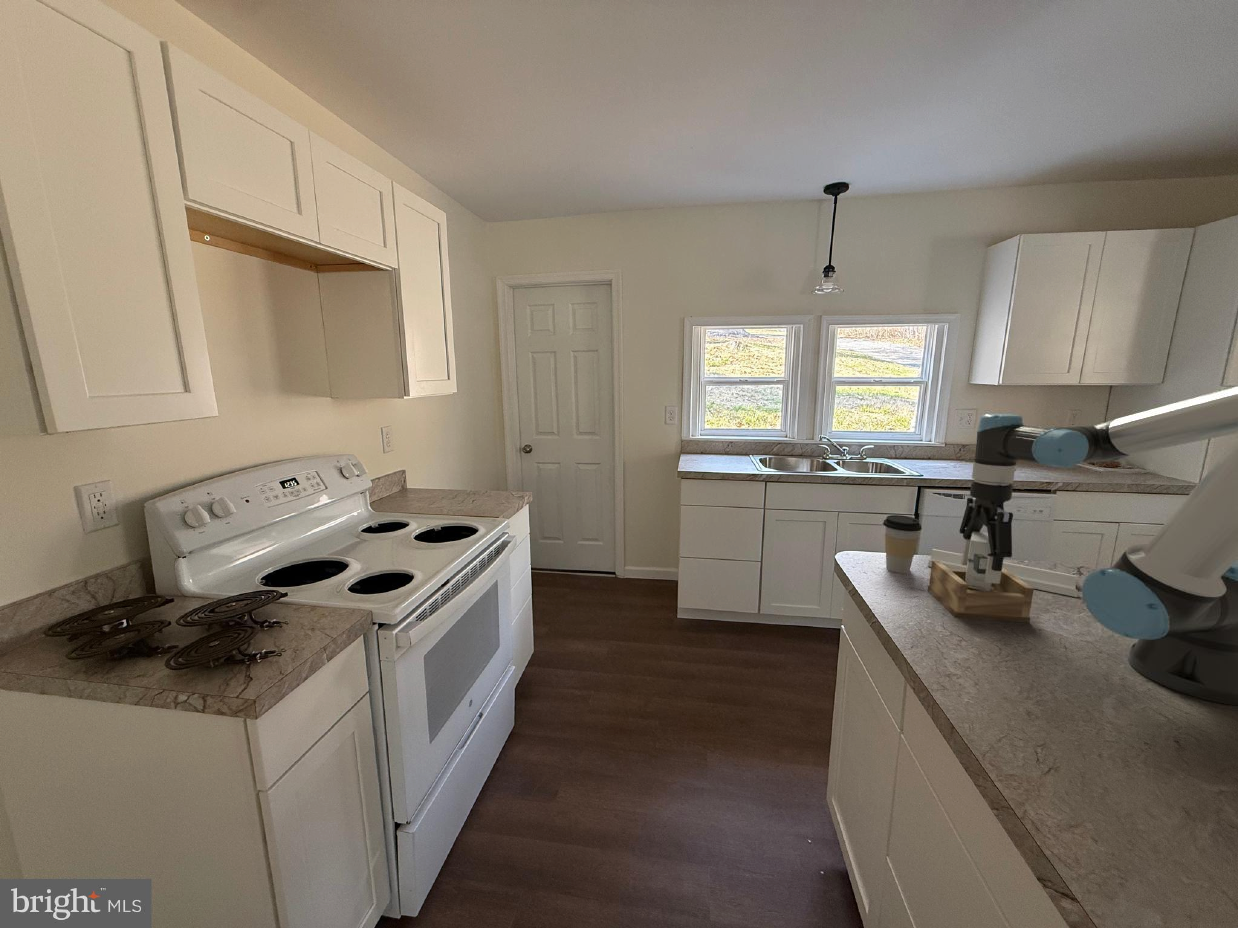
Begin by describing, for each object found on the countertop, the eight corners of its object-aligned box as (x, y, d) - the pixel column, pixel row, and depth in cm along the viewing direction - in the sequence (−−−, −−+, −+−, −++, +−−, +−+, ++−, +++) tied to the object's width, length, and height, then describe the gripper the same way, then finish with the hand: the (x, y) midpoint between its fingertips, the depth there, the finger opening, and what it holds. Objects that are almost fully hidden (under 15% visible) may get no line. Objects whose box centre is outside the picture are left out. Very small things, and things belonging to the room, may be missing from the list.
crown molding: (927, 569, 136) (928, 557, 135) (932, 556, 145) (934, 545, 144) (1076, 600, 116) (1079, 586, 115) (1072, 583, 125) (1074, 570, 124)
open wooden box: (1029, 622, 105) (1035, 588, 103) (954, 617, 108) (959, 583, 106) (992, 594, 118) (997, 563, 117) (927, 589, 121) (931, 560, 120)
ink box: (966, 574, 117) (971, 529, 115) (991, 579, 114) (997, 533, 111) (963, 587, 110) (970, 539, 108) (990, 592, 107) (997, 543, 105)
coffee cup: (922, 577, 129) (928, 525, 126) (885, 574, 130) (890, 523, 128) (909, 563, 138) (914, 514, 135) (874, 561, 140) (878, 513, 137)
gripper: (1044, 493, 96) (1028, 595, 100) (983, 472, 117) (972, 556, 121) (1002, 492, 97) (988, 593, 101) (949, 471, 119) (939, 555, 123)
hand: (979, 573), depth 111 cm, fingers closed on ink box, 9 cm apart
